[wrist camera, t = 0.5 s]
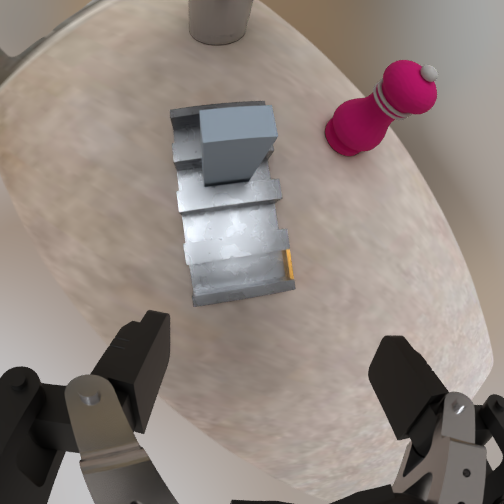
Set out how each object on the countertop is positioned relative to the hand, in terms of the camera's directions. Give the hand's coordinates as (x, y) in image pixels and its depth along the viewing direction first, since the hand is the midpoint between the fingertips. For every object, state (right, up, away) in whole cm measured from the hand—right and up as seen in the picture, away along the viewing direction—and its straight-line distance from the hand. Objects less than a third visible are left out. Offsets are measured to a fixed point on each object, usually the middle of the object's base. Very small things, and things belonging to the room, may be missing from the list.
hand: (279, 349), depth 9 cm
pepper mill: (+12, +20, +27) cm, 36 cm away
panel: (-4, +12, +22) cm, 26 cm away
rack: (-4, +10, +24) cm, 26 cm away
